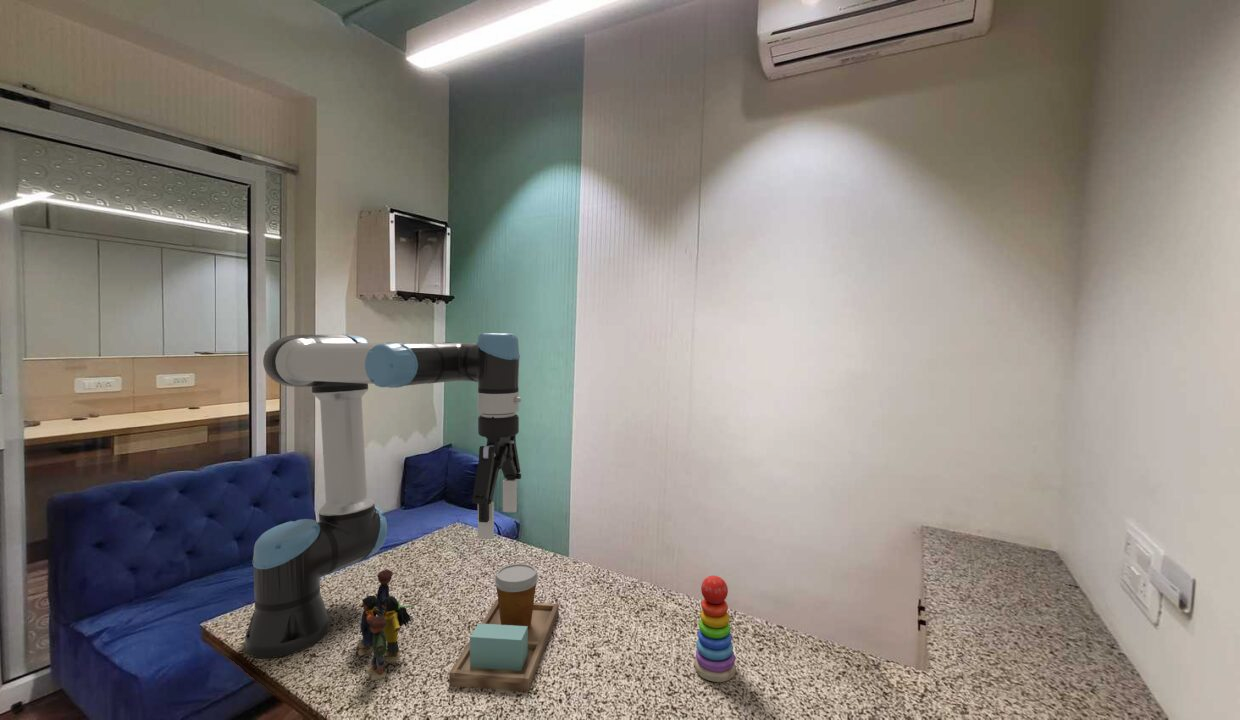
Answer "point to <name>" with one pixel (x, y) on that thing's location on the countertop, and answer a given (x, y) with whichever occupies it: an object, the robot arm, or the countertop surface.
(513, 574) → the disposable coffee cup
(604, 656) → the countertop surface
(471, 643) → the teal rectangular block
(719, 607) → the stacking toy
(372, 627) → the doll family
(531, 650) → the divided compartment tray
